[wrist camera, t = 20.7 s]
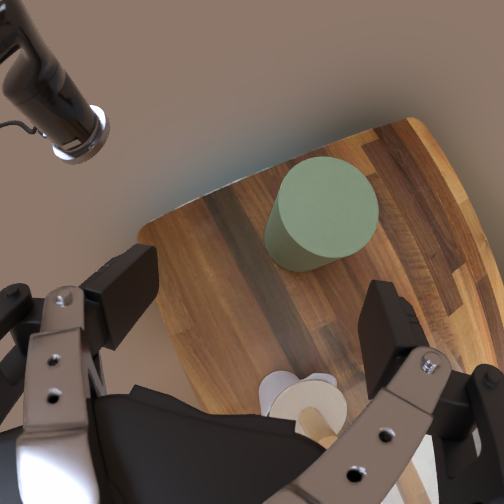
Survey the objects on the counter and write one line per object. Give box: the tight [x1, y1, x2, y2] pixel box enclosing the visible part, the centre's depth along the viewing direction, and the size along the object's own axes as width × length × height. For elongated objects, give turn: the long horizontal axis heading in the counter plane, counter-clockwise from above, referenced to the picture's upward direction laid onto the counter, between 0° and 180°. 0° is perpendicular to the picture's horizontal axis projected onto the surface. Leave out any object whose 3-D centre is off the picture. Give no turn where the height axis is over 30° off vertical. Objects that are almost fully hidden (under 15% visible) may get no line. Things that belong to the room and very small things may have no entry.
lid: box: [269, 379, 347, 449], centre depth 24 cm, size 8×8×8 cm
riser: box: [264, 157, 379, 272], centre depth 35 cm, size 10×10×16 cm
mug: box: [259, 371, 337, 417], centre depth 34 cm, size 10×7×12 cm, turn 122°
